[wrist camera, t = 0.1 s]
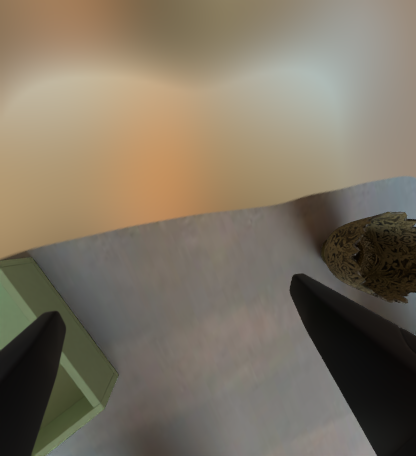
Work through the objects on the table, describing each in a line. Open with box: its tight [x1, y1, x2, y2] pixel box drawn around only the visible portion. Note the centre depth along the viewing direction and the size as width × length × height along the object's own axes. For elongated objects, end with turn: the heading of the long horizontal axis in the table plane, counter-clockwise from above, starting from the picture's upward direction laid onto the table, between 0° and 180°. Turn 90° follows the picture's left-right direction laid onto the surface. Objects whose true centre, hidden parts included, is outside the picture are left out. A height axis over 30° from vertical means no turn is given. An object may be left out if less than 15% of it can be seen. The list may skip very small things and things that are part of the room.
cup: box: [321, 212, 416, 303], centre depth 22 cm, size 8×7×8 cm
